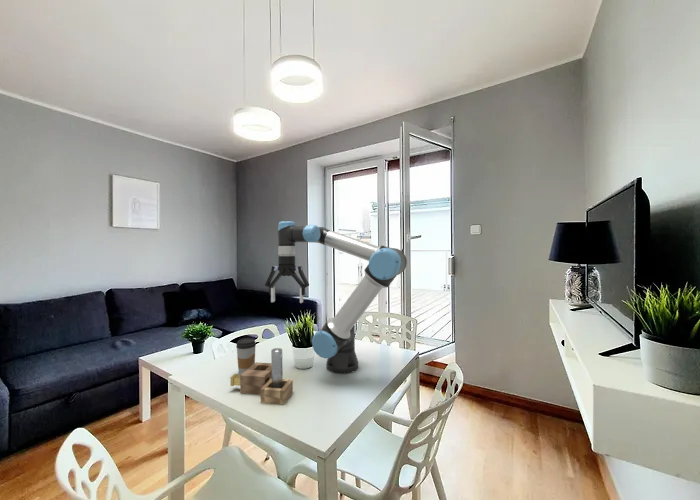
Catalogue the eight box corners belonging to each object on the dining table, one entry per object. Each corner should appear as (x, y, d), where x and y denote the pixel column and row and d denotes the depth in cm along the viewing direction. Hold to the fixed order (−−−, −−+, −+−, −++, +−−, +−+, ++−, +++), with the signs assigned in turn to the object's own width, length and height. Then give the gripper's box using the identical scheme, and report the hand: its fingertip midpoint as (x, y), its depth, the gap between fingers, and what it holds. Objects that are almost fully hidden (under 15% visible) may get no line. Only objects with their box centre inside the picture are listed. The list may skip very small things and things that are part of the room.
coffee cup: (250, 378, 127) (249, 344, 127) (232, 377, 129) (232, 343, 128) (259, 370, 135) (259, 338, 135) (243, 369, 137) (242, 337, 137)
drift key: (265, 384, 117) (265, 375, 117) (262, 388, 114) (261, 379, 114) (235, 382, 119) (235, 373, 119) (230, 385, 116) (230, 377, 116)
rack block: (292, 392, 115) (292, 379, 115) (284, 404, 106) (284, 390, 106) (270, 390, 116) (270, 378, 116) (260, 402, 107) (260, 389, 107)
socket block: (277, 379, 126) (277, 363, 126) (264, 395, 113) (264, 376, 113) (255, 378, 127) (255, 362, 127) (240, 393, 114) (240, 375, 114)
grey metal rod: (284, 395, 113) (283, 348, 113) (280, 400, 109) (279, 352, 109) (274, 394, 113) (273, 348, 113) (270, 399, 109) (269, 351, 109)
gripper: (315, 255, 136) (315, 301, 136) (264, 255, 140) (264, 299, 140) (311, 255, 128) (311, 304, 129) (257, 255, 132) (257, 302, 132)
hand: (287, 302), depth 134 cm, fingers open, 13 cm apart
